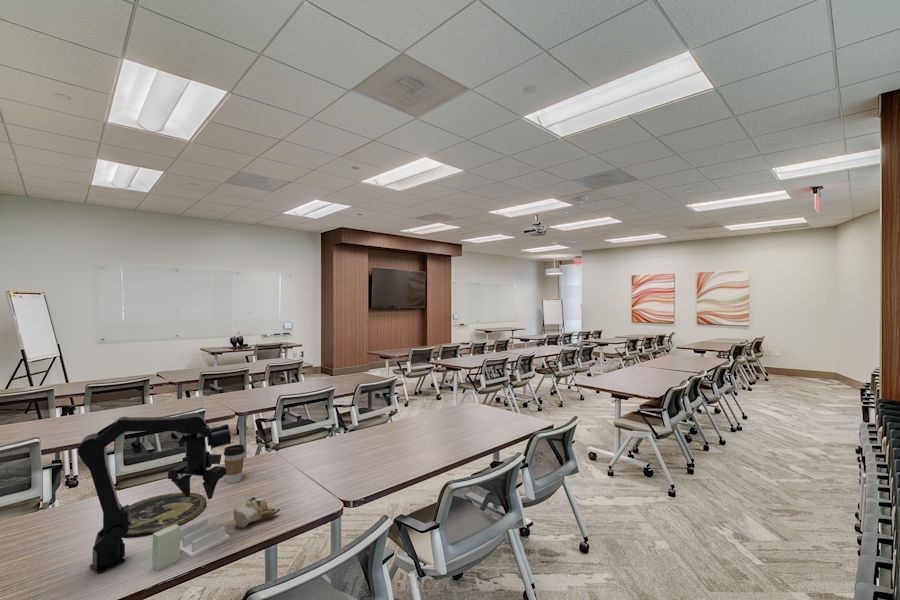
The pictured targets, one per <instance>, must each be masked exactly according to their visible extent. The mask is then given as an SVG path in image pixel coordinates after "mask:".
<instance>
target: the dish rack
mask: <svg viewBox="0 0 900 600" xmlns="http://www.w3.org/2000/svg"><path fill="white" fill-rule="evenodd" d="M229 539H230V535H229V534H227V533H226V527H225V526H222V527H219V528H218V529H217V523H216V522H215V521H214V522H212V523H210V524H208V518H207V517H206V518H204V519H201V520H199V521H196V522H195V523H192V524H190V525H188V526H185V527H183V528H180V554H183V555H185V556H186V557H188V558H189V559H193V558H194V557H196V556H199V555H200V554H202V553H205V552H206V551H208V550H210V549H212V548H214V547H216V546H218V545H220V544H222V543H225V542H226V541H227V540H229ZM225 540H226V541H225Z"/></svg>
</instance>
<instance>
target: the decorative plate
mask: <svg viewBox="0 0 900 600" xmlns="http://www.w3.org/2000/svg"><path fill="white" fill-rule="evenodd" d="M206 508H207V499H206V498H205V496H204V495H202V494H200V493H197V492H196V493H195V492H190V496H189V497H185V495H184V494H183V493H182V492H172V493H166V494H161V495H156V496H152V497H148V498H145V499H142V500H139V501H137V502H135V503H133V504H130V505H129V512H130V513H131V514H132V519H131V525H129V530H128V532H127V534H126V535H125V536H124V537H123V538H122V539H135V538H136V539H137V538H142V537H143V538H144V537H149V536H153V533H156V532H158V531H160V530H162V529H165V528H167V527H169V526H172V525H174V524H176V525H178V526H180V527H181V526H183V525H186V524H187V523H189V522H190V521H193V520H194V519H196V518H197V517H199V516H200V515H201V514H202V513H203V512H204V511H205V509H206Z"/></svg>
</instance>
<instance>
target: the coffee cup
mask: <svg viewBox="0 0 900 600" xmlns="http://www.w3.org/2000/svg"><path fill="white" fill-rule="evenodd" d="M245 452H246V449H245V445H243V444H234V445H229V446H226V447H224V451H223V456H224V459H223V461H224V467H225V468H226V473H227V474H226V475H225V480H226V483H227V484H236V483H238V482H240V481H241V480H242V477H243V467H244V459H245V455H244V454H245Z"/></svg>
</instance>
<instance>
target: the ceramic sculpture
mask: <svg viewBox="0 0 900 600" xmlns="http://www.w3.org/2000/svg"><path fill="white" fill-rule="evenodd" d="M280 511H281V508H277V509H275V508H269V507H268V502H267V501H266V500H265V499H263V498H260V497H257V498H256V497H251V498H250V499H248V500H247V502H246V503H245V505H244V506H242V507H236V508H234V509H233V519H234V522H235V523H236V526H237V527H239V528H245V527H247V526H248V525H249V523H252V522H256V521H260V520H262V519H268V518H271V517H273V516H274V515H277V513H278V512H280Z"/></svg>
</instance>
